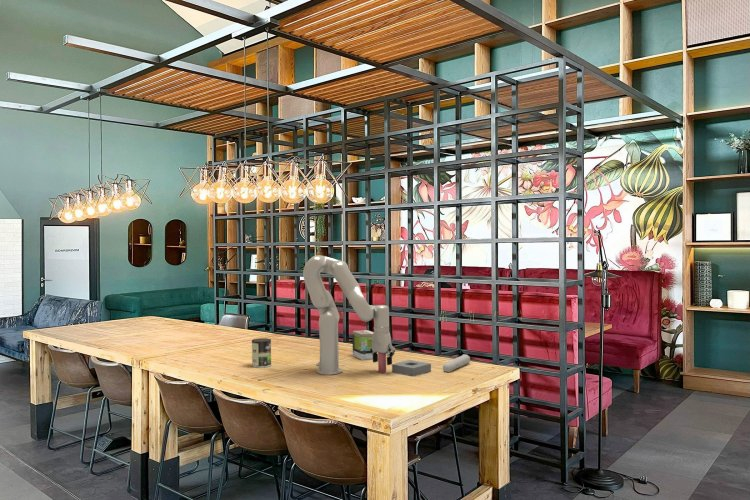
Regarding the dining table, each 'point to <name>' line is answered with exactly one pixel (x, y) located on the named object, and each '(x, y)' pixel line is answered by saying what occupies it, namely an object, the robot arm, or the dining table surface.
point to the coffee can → (261, 353)
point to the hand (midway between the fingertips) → (382, 363)
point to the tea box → (362, 344)
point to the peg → (381, 362)
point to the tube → (456, 363)
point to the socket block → (411, 367)
